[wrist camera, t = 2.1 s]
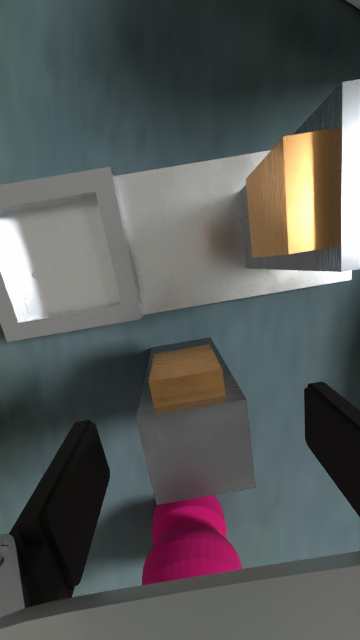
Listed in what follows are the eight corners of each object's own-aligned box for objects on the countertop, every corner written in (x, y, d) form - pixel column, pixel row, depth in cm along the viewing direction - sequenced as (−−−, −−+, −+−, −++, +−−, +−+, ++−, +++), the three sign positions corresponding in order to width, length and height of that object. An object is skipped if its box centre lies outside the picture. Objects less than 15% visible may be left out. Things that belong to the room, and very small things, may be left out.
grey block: (217, 390, 18) (255, 487, 10) (162, 399, 18) (156, 505, 10) (208, 321, 16) (243, 372, 9) (148, 332, 16) (129, 391, 9)
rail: (334, 278, 16) (560, 295, 7) (26, 330, 16) (-171, 420, 7) (334, 149, 14) (646, -68, 5) (-15, 207, 14) (-372, 95, 5)
